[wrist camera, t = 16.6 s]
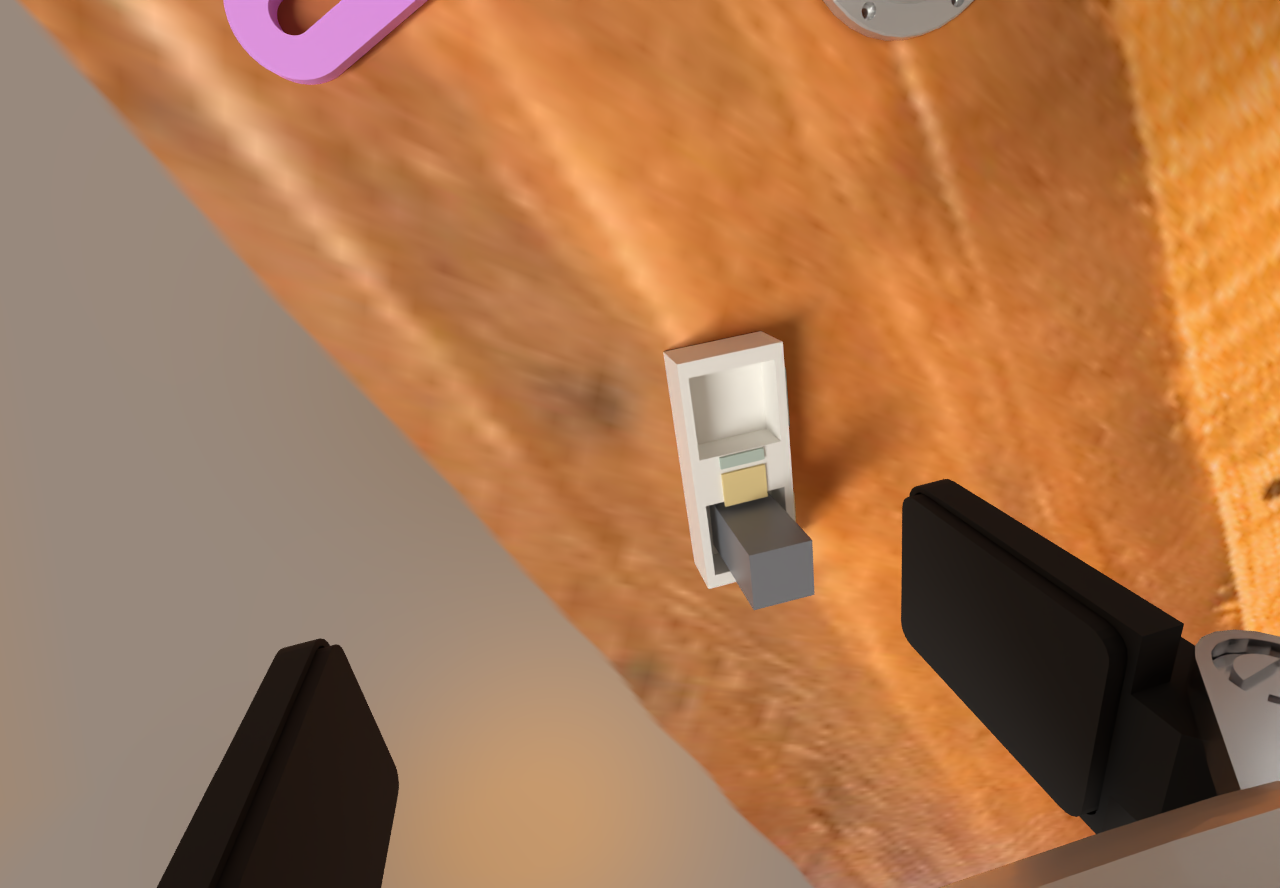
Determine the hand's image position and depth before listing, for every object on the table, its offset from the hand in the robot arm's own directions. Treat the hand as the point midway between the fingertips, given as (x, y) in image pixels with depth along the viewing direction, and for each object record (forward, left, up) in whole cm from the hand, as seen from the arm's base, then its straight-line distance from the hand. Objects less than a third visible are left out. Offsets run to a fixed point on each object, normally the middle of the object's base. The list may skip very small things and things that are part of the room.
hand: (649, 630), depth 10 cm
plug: (-10, +17, -29) cm, 35 cm away
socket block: (-10, +12, -30) cm, 34 cm away
